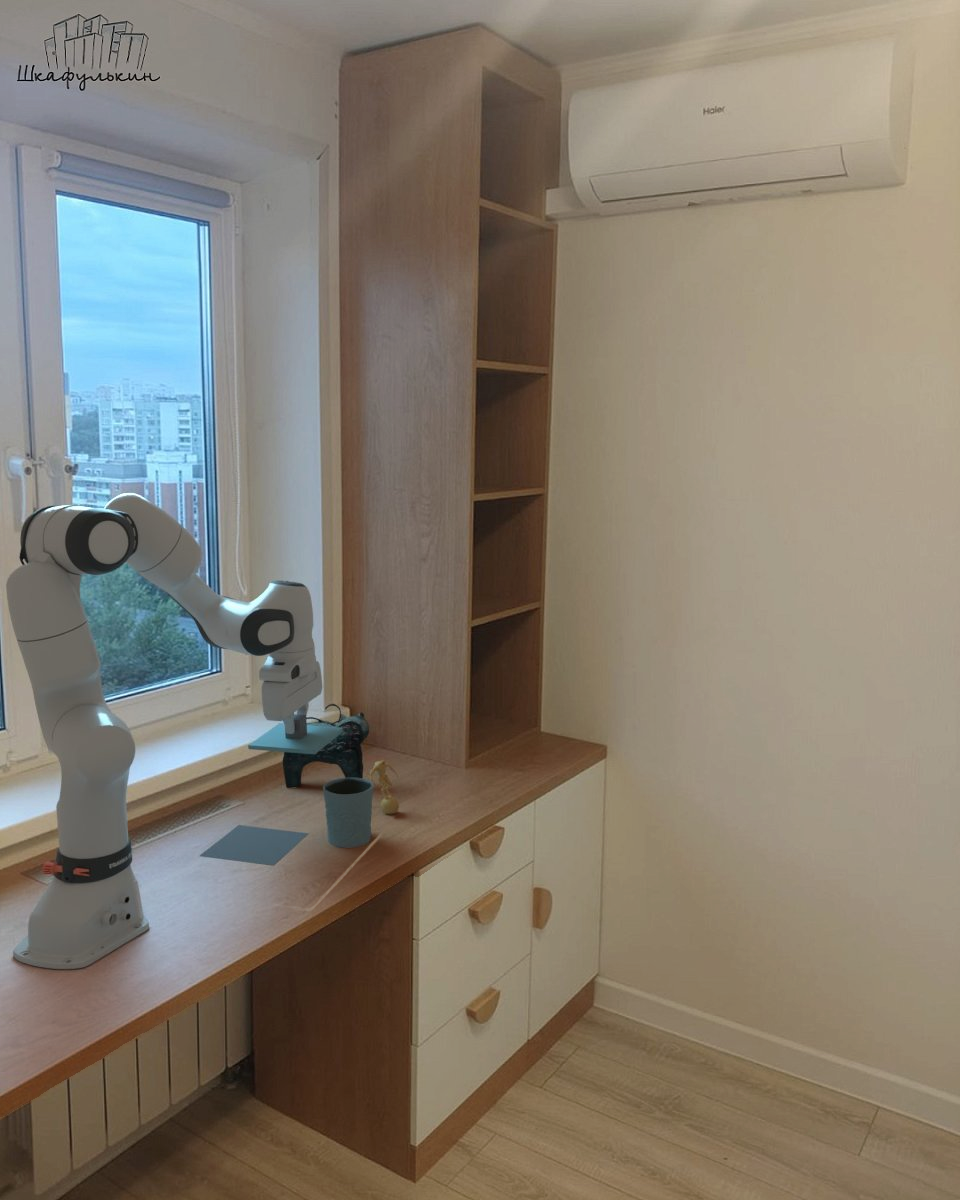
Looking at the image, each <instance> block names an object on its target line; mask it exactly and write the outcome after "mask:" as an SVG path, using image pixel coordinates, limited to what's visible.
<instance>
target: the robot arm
mask: <svg viewBox="0 0 960 1200" xmlns="http://www.w3.org/2000/svg"><path fill="white" fill-rule="evenodd" d="M19 539H20V552H19V561H20V563H21V565H20V566H19V567H18V568H15V570H13V571H12V572H11V573H10V574H9V576H8V577H7V580H6V585H5V588H6V598H7V607H8V611H9V615H10V621H11V624H12V629H13V631H14V635H15V639H16V641H17V645H18V648H19V650H20V654H21V657H22V660H23V662H24V665H25V668H26V671H27V675H28V678H29V681H30V684H31V688H32V694H33V699H34V705H35V708H36V713H37V717H38V718H37V719H38V721H39V724H40V729H41V733H42V736H43V740H44V742H45V744H46V746H47V747H48V749H49V750H50V751H51V752H52V753H53V754H54V755H55V756H56V757H57V759H58V761H59V764H60V765H59V766H60V770H61V773H60V774H61V780H60V790H59V791H60V792H59V797H58V800H57V803H56V807H55V808H56V809H55V810H56V820H57V823H56V824H57V832H58V833H57V834H58V835H57V836H58V848H57V850H56V856H55V859H54V862H52V861H49V860H48V861H45V862H44V863H43V866H42V869H41V871H42V873H43V874H44V875H52V876H53V877H52V879H51V881H50V882H49V884H48V886H47V887H46V889H45V890H44V892H43V894H42V896H41V897H40V898H39V900H38V902H37V903H36V906H35V907H34V908H33V910H32V911H31V913H30V916H29V918H28V925H27V935H26V937H24V938H23V939H22V940H21V942H19V943H18V944H17V945H16V947H15V948H14V949H13V951H12V956H13V958H14V959H15V960H17V961H18V962H21V963H23V964H26V965H30V966H34V967H39V968H43V969H44V968H45V969H54V970H75V969H81V968H86V967H87V966H90V965H91V964H93V963H95V962H96V961H98V960H100V959H102V958H103V957H105V956H107V955H108V954H109V953H111V952H113V951H115V950H116V949H118V948H120V947H121V946H123V945H125V944H126V943H128V942H130V941H131V940H133V939H135V938H136V937H138V936H140V935H141V934H143V933H144V932H146V931H148V930H149V929H150V924H149V921H148V919H146V917H145V916H144V912H143V911H144V910H143V904H142V899H141V893H140V892H141V891H140V888H139V882H138V879H137V878H136V876H135V874H134V871H133V868H132V865H131V864H132V862H133V847H132V841H131V839H130V837H129V831H128V830H129V828H128V815H127V814H128V813H127V812H128V811H127V810H128V809H127V792H128V791H127V790H128V783H129V775H130V770H131V769H130V768H131V766H132V764H133V762H134V760H135V757H136V756H135V755H136V745H135V741H134V738H133V735H132V732H131V731H130V728H129V727H128V725H127V724H126V722H125V721H123V720H122V719H121V718H120V717H119V716H117V715H116V714H115V713H113V712H112V710H111V709H110V707H109V706H108V704H107V701H106V699H105V696H104V692H103V691H104V690H103V684H102V677H101V676H102V675H101V665H102V661H101V659H100V657H99V653H98V649H97V646H96V643H95V639H94V636H93V634H92V630H91V627H90V624H89V621H88V618H87V614H86V612H85V609H84V605H83V604H82V601H81V591H80V590H81V582H82V578H83V575H91V576H100V575H106V574H109V573H112V572H114V571H116V570H118V569H120V568H121V567H122V566H123V565H124V564H125V563H126V564H128V565H129V566H130V567H131V568H132V569H133V570H135V571H136V572H137V573H138V574H139V575H140V576H141V577H143V578H145V580H147V581H148V582H150V583H151V584H153V585H155V586H156V587H158V588H160V589H161V590H163V591H164V592H165V594H166V595H167V596H169V597H170V598H171V599H172V600H174V602H176V604H177V605H178V606H180V607H181V609H183V610H184V611H185V612H186V613H187V614H188V615H189V616H190V617H191V618H192V620H193V621H194V622H195V625H196V627H197V629H198V631H199V634H200V635H201V637H202V639H203V640H204V641H205V642H206V643H207V644H208V645H209V646H211V647H214V648H217V649H224V650H228V651H233V652H237V653H241V654H245V655H248V656H253V657H261V656H266V655H268V656H267V658H266V660H265V662H264V664H263V665H262V666H261V668H260V669H259V671H258V677H259V681H263V682H262V685H261V702H262V704H261V705H262V710H263V711H262V712H263V716H264V717H265V719H266V720H267V721H271V722H283V723H284V724H285V732H286V733H287V734H293V733H294V732H296V730H297V728H296V727H297V726H296V723H294V720H293V717H294V714H295V712H296V714H298V715H306V717H308V716H307V715H308V711H309V706H310V705H309V703H310V702H311V701H313V700H314V699H315V698H317V697H318V696H320V695H321V694H322V691H323V676H322V670H321V665H320V662H319V661H318V660H317V658H316V657H317V656H316V651H315V649H316V646H315V641H314V639H313V638H314V637H313V628H314V612H313V611H314V610H313V602H312V597H311V594H310V589H309V588H308V586H306V585H305V584H303V583H301V582H298V581H297V582H295V581H288V580H274V581H271V582H269V584H268V586H267V588H266V589H265V590H264V591H263V593H261V594H260V595H259V596H258V597H257V598H255V599H253V600H252V601H249V602H247V601H242V600H238V599H235V598H232V597H228V596H225V595H221V594H218V593H216V592H215V590H213V589H212V588H211V587H210V586H209V585H208V584H207V583H206V582H205V581H204V580H203V579H202V578H201V577H200V576H199V575H198V574H197V573H198V572H199V569H200V567H201V564H202V559H203V557H202V556H203V554H202V553H203V552H202V548H201V546H200V545H199V543H198V542H197V540H196V538H194V536H193V535H192V534H191V533H190V532H189V531H188V530H187V529H186V528H185V527H184V526H183V525H182V524H180V523H179V522H178V520H176V519H175V518H174V517H173V516H172V515H170V514H169V513H167V512H166V511H165V510H163V508H161V507H159V506H158V505H156V504H155V503H153V502H152V501H151V500H148V499H147V498H145V497H143V496H142V495H140V494H137V493H134V492H133V493H132V492H128V493H122V494H119V495H117V496H115V497H114V498H112V499H111V500H110V501H108V502H107V503H106V504H105V506H104V507H102V508H101V507H89V506H83V505H78V504H66V505H48V506H45V507H42V508H39V509H37V510H36V511H34V512H32V513H31V514H30V515H28V517H26V519H25V521H24V522H23V525H22V526H21V531H20V538H19Z"/></svg>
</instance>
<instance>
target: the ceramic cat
mask: <svg viewBox="0 0 960 1200" xmlns="http://www.w3.org/2000/svg"><path fill="white" fill-rule="evenodd" d="M329 707H335V708H337V709H338V711H339V717H338V720H336V721H334V722H331V721H328V720H322V719H320V718H317V717H314V716H306V720H316V721H314V722H313V721H312V722H307V725H312V726H326V727H340V728H343V732H341V733H340V734H339V735H338V736H337V737H335V738H334V739H333V740H332V741H331V742H329V743H328V744H327V745H326V746H325V747H323V748H322V749H321V750H320V751H318V752H317V753H316V754H304V753H291V752H283V757H282V768H283V774H284V776H283V777H284V783H285V787H286V788H290V787H299V788H300V786H301V784H302V774H303V771H304V767H306V766H307V765H309V764H311V763H315V762H316V763H317V762H319V763H323V764H328V765H329V764H330V765H337V766H338V767H339V768H340V769H341V771H342V774H343V776H344V778H362V779H364V778H363V777H364V775H363V774H364V764H363V751H362V748H361V745H362V744H363V742H364V741H365V740H366V739H367V738H368V736H369V734H370V724H369V722H368V720H367V719H366V718H365V713H363V711H360V712H359V713H358V714H357V715H352V716H346V715H345V714H343V713H342V710H341V709H340V708H341V707H340V706H339V705H338V704H336V703H329V704H327V706H326V707H325V708H324V710H327V709H328V708H329Z"/></svg>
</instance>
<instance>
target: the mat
mask: <svg viewBox="0 0 960 1200" xmlns="http://www.w3.org/2000/svg"><path fill="white" fill-rule="evenodd" d="M308 835H309V833H308V832H301V831H291V830H284V829H276V828H275V829H274V828H269V827H268V828H267V827H259V826H253V825H252V826H251V825H242V824H238V825H237V826H235V827H234V828H233V829H232V830H230V831H229V832H228V833H226V834H225V835H224V836H223V837H222V838H220V839H218V840H217V841H216V842H215V843H214V844H213V845H211V846H210V847H208V848H207V849H206V850H204V852H202V853H201V854H200V855H199V857H203V858H212V859H220V860H225V861H226V860H227V861H235V862H242V863H249V864H256V865H257V864H259V865H265V866H273V867H275V865H277V864H278V863H279V861H281V860H282V859H283V858H284V857H285V856H286V855H287V854H288V853H289V852H291V850H293V849H294V848H295V847H296V846H297V845H298V844H299V843H300V842H302V840H304V838H305V837H307V836H308Z"/></svg>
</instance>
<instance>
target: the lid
mask: <svg viewBox="0 0 960 1200" xmlns="http://www.w3.org/2000/svg"><path fill="white" fill-rule="evenodd" d="M306 717H307V716H306V715H298V714H297V713H294V717H293V720H294V723H296V726H297V727H296V728H297V730H296V732H294V733H293V734H287V733H286V732H285V724H284V722H283V723H282V722H281V723H280V722H279V723H277V724H276V725H275V726H274V727H272V728H270V729H269V730H268V731H267V732H265V733H264V734H262V735H260V736H259V737H258V738H257V739H255V740H253V741H252V742H250V743H249V744H248V746H247V748H248V750H254V751H267V752H269V751H270V752H278V753H279V752H281V753H284V752H291V753H304V754H316V753H317V752H318V751H320V750H321V749H322V748H323V747H325V746H326V745H327V744H328V743H329V742H331V741H332V740H333V739H334V738H335V737H337V736H338V735H339V734H340V733H341V732H343V728H340V727H326V726H312V725H307V723H308V721H307V719H306Z"/></svg>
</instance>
